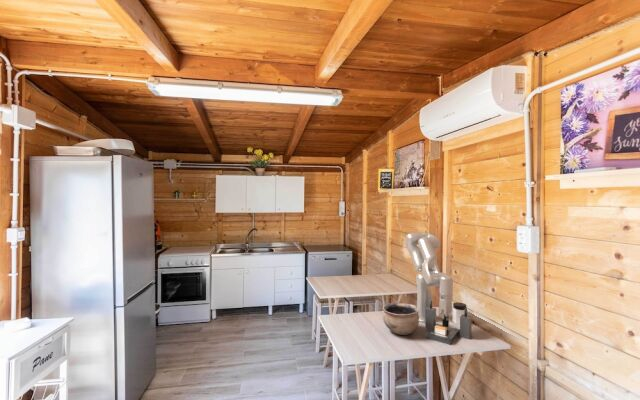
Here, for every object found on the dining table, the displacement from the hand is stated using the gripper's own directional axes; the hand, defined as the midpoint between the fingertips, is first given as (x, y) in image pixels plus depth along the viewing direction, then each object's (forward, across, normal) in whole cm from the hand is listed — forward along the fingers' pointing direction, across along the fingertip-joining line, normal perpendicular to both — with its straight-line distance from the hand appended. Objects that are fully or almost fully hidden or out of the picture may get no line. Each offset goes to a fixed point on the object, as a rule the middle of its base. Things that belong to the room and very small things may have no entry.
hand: (445, 326), depth 194 cm
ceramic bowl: (+5, +16, -22) cm, 27 cm away
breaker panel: (+4, +5, 0) cm, 7 cm away
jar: (+5, -24, +1) cm, 24 cm away
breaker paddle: (+1, +10, 0) cm, 10 cm away
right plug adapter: (+4, -3, +11) cm, 12 cm away
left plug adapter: (+4, -3, -10) cm, 11 cm away
